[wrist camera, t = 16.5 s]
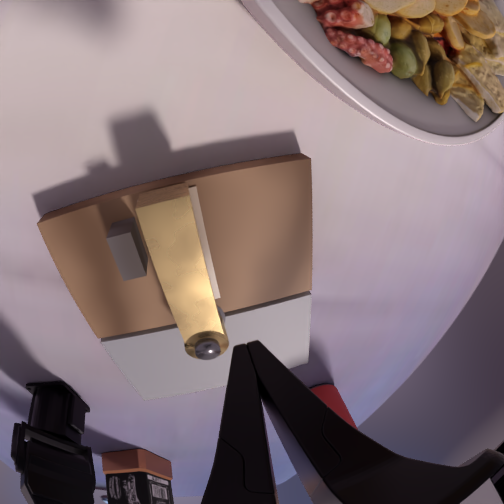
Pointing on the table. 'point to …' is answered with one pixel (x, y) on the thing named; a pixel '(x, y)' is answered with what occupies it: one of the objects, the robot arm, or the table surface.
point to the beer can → (333, 401)
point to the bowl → (401, 60)
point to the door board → (211, 236)
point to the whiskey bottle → (137, 477)
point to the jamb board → (216, 370)
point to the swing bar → (182, 268)
